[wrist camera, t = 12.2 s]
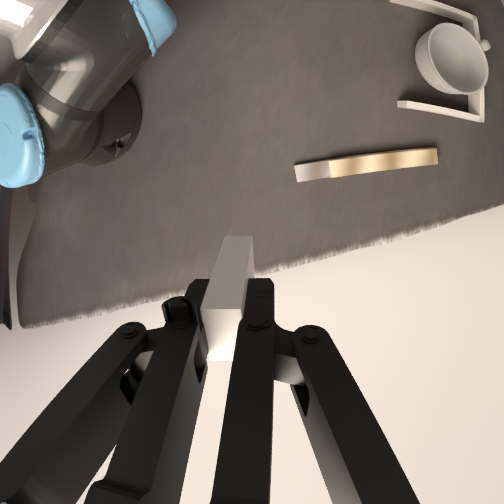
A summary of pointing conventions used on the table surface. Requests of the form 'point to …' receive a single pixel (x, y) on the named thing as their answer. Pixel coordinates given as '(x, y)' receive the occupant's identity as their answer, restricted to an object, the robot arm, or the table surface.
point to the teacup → (452, 59)
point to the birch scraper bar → (366, 163)
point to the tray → (470, 23)
